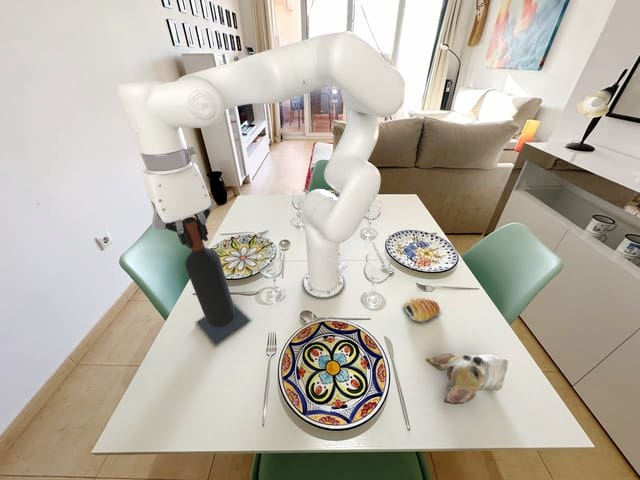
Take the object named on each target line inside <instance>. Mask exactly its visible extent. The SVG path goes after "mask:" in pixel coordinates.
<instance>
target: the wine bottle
mask: <svg viewBox="0 0 640 480" xmlns="http://www.w3.org/2000/svg"><path fill="white" fill-rule="evenodd" d="M181 221H182V225H183V228H184V230H185V231H187V232H188V235H189V238H190V240H191V243H192V246H193V247H192V248H190V249H191V252H190V253H189V254H188V255H187V257H186V258H185V261H184V266H185V270H186V273H187V275H188V277H189V280H190V282H191V285H192V287H193V291H194V293H195V295H196V298H197V300H198V303H199V305H200V308H201V310H202V313H203V316H204V317H205V318H206V320H207V323H208V324H209V325H211V326H212V327H221V326H224V325H226V324H228V323H230V322H231V321H232V320H233V318H234V317H235V313H236V312H235V308H234V306H235V305H234V302H233V298H232V295H231V291H230V288H229V285H228V282H227V281H228V280H227V278H226V275H225V271H224V267H223V264H222V261H221V258H220V255H219V253H218V252H217V251H215V250H214V249H212V248H209V247H206V246H205V243H204V240H202V237H201V234H200V231H199V228H198V224H197V221H196V219H195V216H188V217H185V218H183V219H181Z"/></svg>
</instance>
